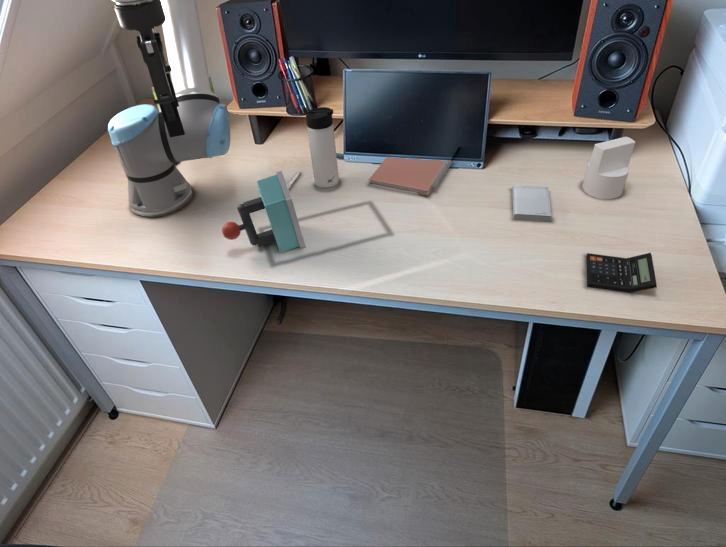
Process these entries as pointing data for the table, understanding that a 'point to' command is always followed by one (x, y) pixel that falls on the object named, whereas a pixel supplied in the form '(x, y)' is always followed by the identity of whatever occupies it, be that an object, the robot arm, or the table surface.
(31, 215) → the table surface
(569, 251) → the table surface
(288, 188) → the picture light
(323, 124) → the travel mug
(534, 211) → the hard drive
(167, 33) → the robot arm
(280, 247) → the iron
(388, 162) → the notebook
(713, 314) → the table surface
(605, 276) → the calculator
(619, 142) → the cylinder with rectangular tab
